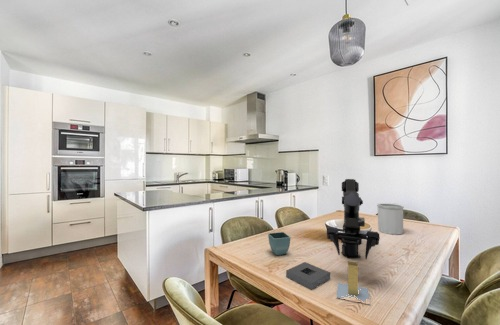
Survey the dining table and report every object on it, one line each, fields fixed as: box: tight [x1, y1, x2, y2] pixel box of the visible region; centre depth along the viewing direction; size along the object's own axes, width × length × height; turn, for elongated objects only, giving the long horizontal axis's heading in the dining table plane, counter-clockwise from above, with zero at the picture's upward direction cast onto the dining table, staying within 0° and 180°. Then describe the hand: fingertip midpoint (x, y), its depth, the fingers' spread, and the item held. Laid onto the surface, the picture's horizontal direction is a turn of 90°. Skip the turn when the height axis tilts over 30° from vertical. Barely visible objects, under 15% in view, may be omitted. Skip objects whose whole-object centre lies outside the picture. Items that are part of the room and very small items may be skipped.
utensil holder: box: [376, 202, 405, 235], centre depth 149 cm, size 15×15×18 cm
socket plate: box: [285, 261, 331, 291], centre depth 89 cm, size 12×12×2 cm
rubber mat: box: [336, 282, 371, 302], centre depth 79 cm, size 10×10×1 cm
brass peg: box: [347, 260, 359, 296], centre depth 79 cm, size 3×3×10 cm
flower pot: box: [267, 231, 292, 256], centre depth 114 cm, size 9×9×9 cm
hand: (352, 256), depth 85 cm, fingers open, 9 cm apart
